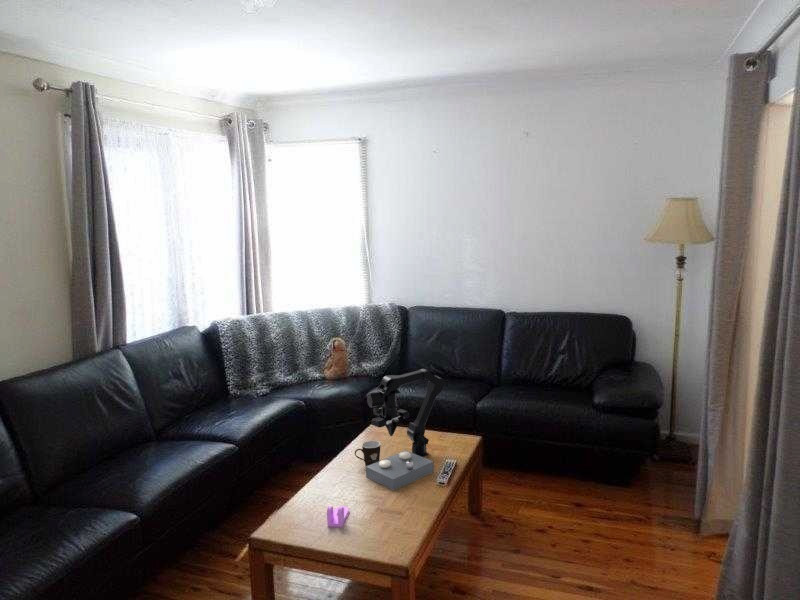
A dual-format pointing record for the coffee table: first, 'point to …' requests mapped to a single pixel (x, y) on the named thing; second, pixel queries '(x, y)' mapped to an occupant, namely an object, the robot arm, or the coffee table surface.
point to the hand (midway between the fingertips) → (391, 435)
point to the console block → (399, 471)
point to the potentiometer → (409, 465)
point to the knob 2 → (404, 455)
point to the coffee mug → (370, 452)
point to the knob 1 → (384, 464)
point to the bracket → (337, 516)
